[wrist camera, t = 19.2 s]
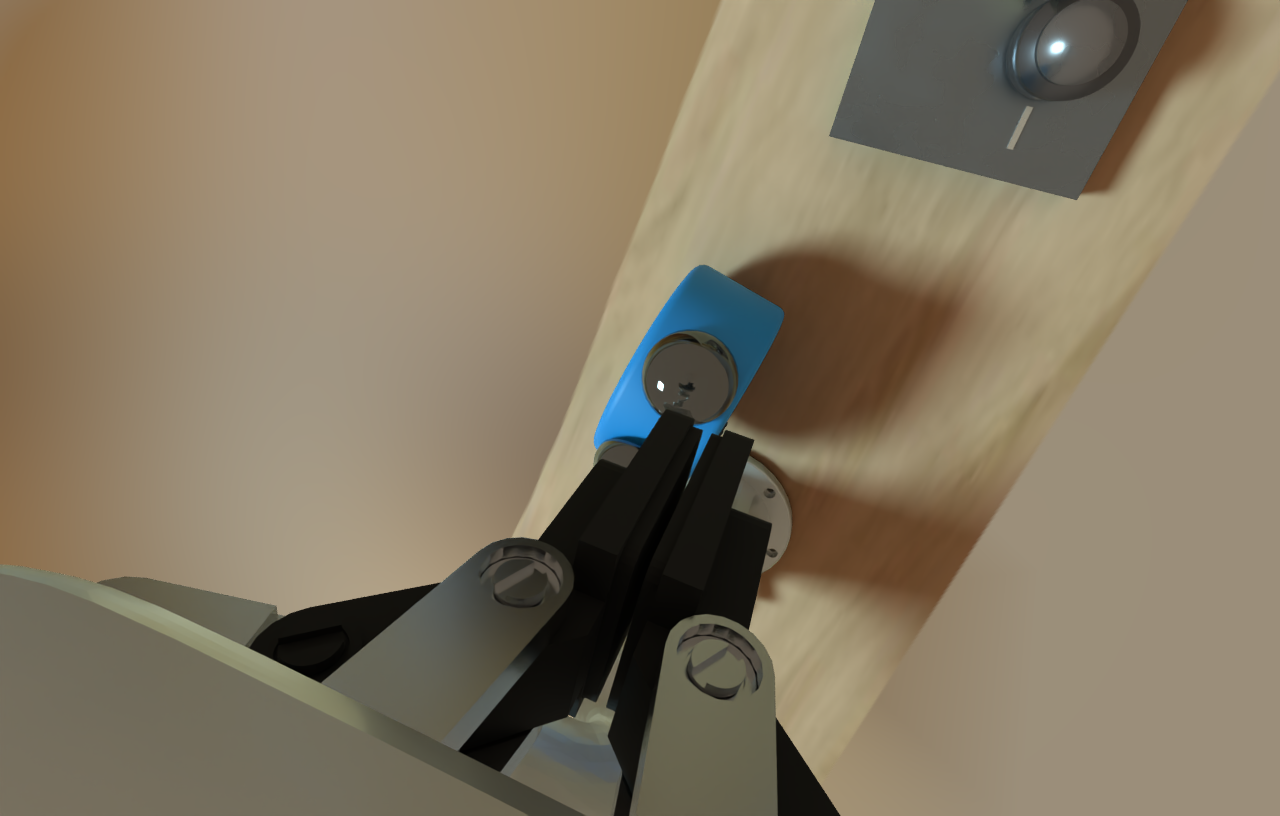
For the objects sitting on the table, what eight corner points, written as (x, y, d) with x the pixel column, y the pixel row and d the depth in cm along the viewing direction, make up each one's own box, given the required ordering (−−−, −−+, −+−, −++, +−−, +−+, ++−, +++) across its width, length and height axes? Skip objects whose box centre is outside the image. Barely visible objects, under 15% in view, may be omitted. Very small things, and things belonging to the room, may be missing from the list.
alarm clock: (719, 241, 40) (649, 304, 27) (800, 288, 40) (769, 374, 27) (637, 393, 47) (552, 499, 34) (707, 434, 47) (646, 558, 34)
